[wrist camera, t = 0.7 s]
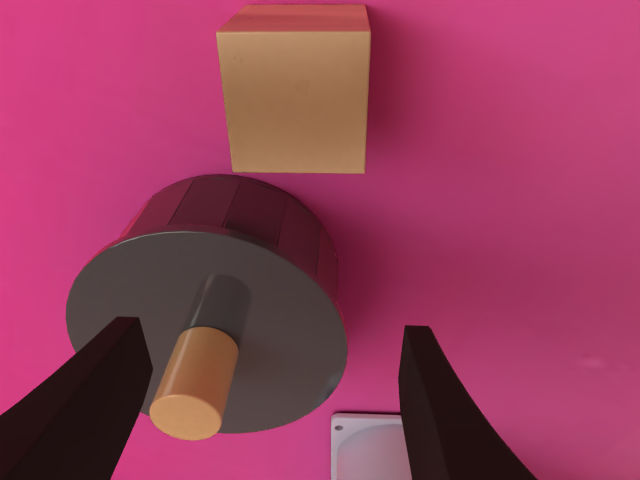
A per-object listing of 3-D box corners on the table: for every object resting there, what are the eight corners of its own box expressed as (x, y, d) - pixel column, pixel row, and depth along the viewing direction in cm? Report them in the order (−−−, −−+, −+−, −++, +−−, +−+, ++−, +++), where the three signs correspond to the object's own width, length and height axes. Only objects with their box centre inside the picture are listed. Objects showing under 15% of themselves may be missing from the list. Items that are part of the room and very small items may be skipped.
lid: (345, 418, 24) (345, 511, 20) (115, 410, 25) (74, 499, 21) (351, 217, 18) (352, 298, 14) (39, 212, 18) (-41, 290, 14)
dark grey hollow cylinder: (336, 345, 27) (335, 422, 23) (151, 340, 28) (118, 415, 24) (338, 175, 22) (336, 237, 17) (104, 172, 22) (48, 232, 18)
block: (361, 120, 20) (365, 174, 16) (255, 120, 20) (232, 173, 16) (365, 3, 18) (371, 31, 14) (245, 4, 18) (214, 31, 14)
